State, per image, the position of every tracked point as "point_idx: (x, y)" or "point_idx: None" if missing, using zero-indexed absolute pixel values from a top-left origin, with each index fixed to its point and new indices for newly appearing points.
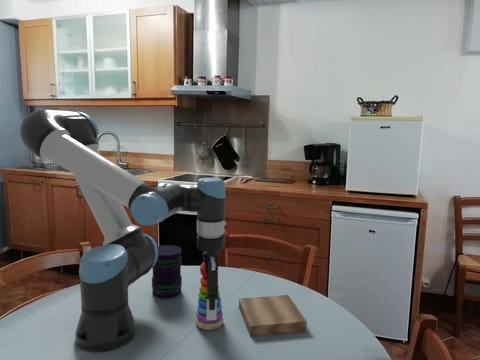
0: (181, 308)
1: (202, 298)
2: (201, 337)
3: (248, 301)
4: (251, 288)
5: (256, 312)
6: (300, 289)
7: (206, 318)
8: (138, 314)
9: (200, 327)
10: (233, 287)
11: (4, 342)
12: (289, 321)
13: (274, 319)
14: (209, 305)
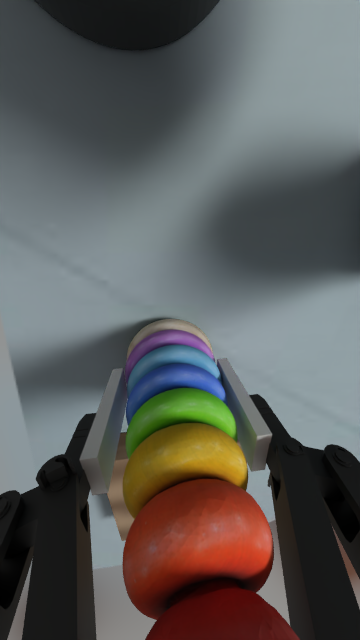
0: (278, 269)
1: (137, 412)
2: (98, 331)
3: None
4: (319, 443)
5: None
6: None
7: (118, 370)
8: (286, 62)
9: (138, 332)
10: (343, 409)
11: None
12: (120, 521)
13: None
14: (88, 429)
